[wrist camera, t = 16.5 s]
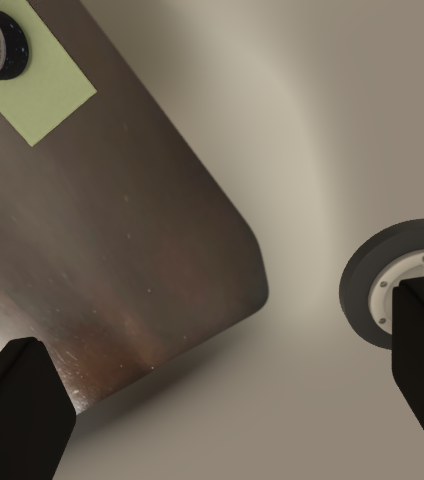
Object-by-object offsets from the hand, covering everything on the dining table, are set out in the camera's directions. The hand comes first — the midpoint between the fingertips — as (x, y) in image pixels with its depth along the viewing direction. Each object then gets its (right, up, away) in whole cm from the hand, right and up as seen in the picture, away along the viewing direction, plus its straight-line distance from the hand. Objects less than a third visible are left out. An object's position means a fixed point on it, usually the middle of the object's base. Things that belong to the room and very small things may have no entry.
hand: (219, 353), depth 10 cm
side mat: (-20, +21, +24) cm, 37 cm away
